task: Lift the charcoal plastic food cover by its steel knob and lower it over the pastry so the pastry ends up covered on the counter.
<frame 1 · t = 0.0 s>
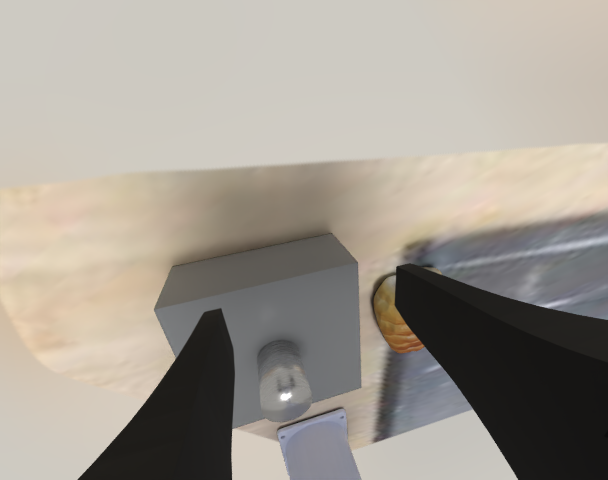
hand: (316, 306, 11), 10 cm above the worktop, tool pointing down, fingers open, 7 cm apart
pastry: (401, 299, 26), on the worktop
cover: (269, 311, 23), on the worktop
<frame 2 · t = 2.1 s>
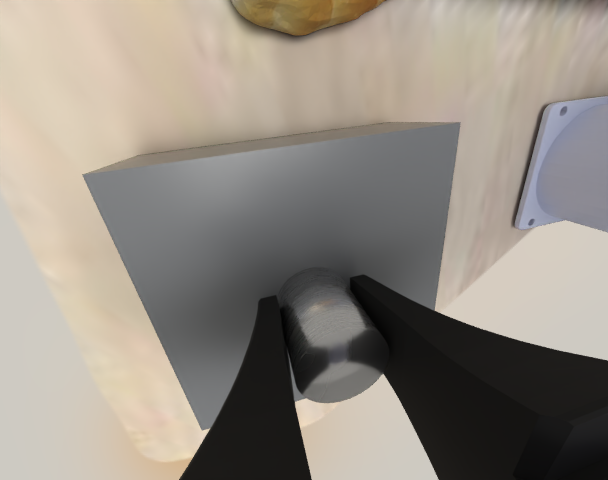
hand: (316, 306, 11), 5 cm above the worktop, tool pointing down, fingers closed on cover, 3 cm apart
cover: (290, 248, 15), on the worktop, touching gripper
when the fingers open (6 cm above the worktop, at t = 5.3 s): cover stays where it is, on the worktop.
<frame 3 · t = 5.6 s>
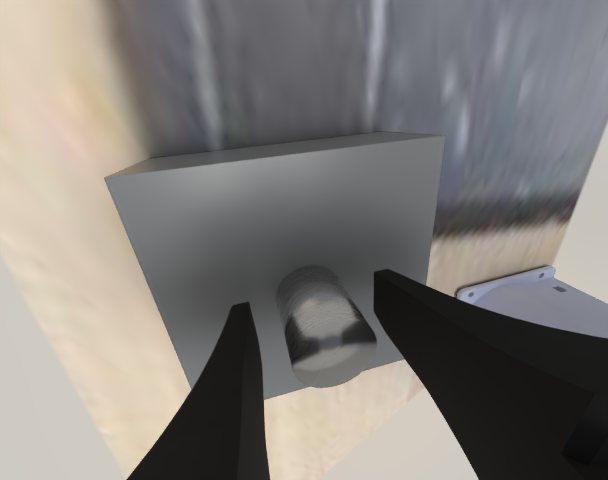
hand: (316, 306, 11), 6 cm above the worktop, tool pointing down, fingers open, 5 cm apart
cover: (288, 248, 16), on the worktop
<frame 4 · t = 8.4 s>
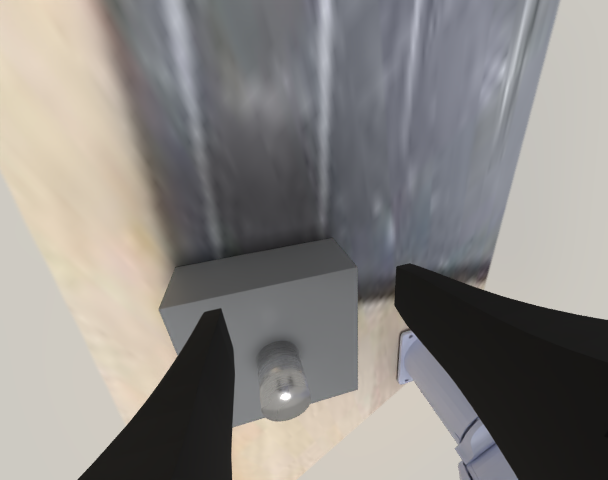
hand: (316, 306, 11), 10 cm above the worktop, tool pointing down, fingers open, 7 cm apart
cover: (269, 313, 23), on the worktop
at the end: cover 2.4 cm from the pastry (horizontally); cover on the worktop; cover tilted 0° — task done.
